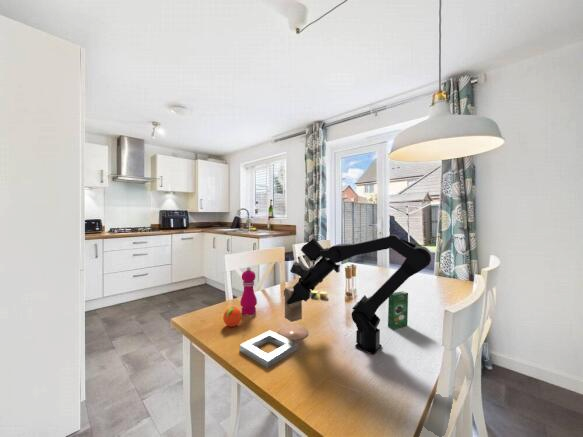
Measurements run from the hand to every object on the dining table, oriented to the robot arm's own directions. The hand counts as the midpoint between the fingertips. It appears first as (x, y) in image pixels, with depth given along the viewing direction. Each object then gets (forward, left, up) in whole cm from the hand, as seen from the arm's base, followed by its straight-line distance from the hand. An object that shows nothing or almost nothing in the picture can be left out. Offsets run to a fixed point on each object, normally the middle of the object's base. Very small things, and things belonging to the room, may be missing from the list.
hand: (289, 300), depth 91 cm
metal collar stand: (-3, +13, -12) cm, 18 cm away
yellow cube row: (+19, -34, -13) cm, 41 cm away
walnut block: (-1, -1, -7) cm, 7 cm away
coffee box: (-28, -32, -12) cm, 44 cm away
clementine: (+20, +11, -12) cm, 26 cm away
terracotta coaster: (-1, -1, -12) cm, 12 cm away
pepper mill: (+26, -2, -12) cm, 29 cm away
